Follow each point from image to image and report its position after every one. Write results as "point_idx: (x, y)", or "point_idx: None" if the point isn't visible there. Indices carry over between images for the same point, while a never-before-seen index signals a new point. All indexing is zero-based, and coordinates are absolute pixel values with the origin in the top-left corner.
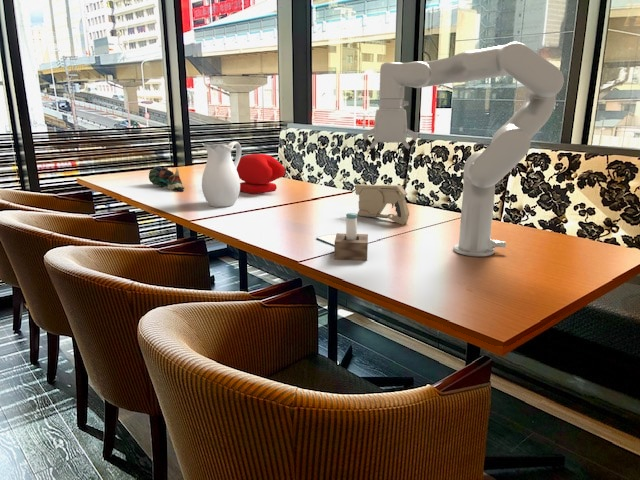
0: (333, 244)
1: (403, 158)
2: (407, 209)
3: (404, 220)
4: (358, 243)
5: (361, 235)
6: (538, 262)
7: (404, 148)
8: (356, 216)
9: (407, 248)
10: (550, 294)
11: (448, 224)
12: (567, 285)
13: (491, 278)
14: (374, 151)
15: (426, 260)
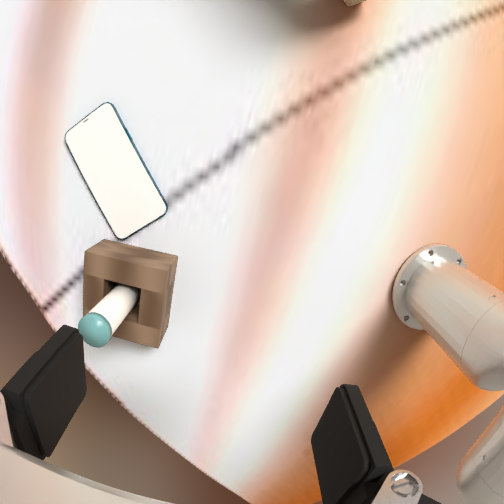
0: (97, 203)
1: (329, 421)
2: None
3: (357, 3)
4: (137, 342)
5: (147, 281)
6: None
7: (362, 479)
8: (108, 339)
9: (291, 246)
10: (395, 454)
11: (463, 46)
12: (436, 429)
13: None
14: (50, 442)
15: (302, 340)
